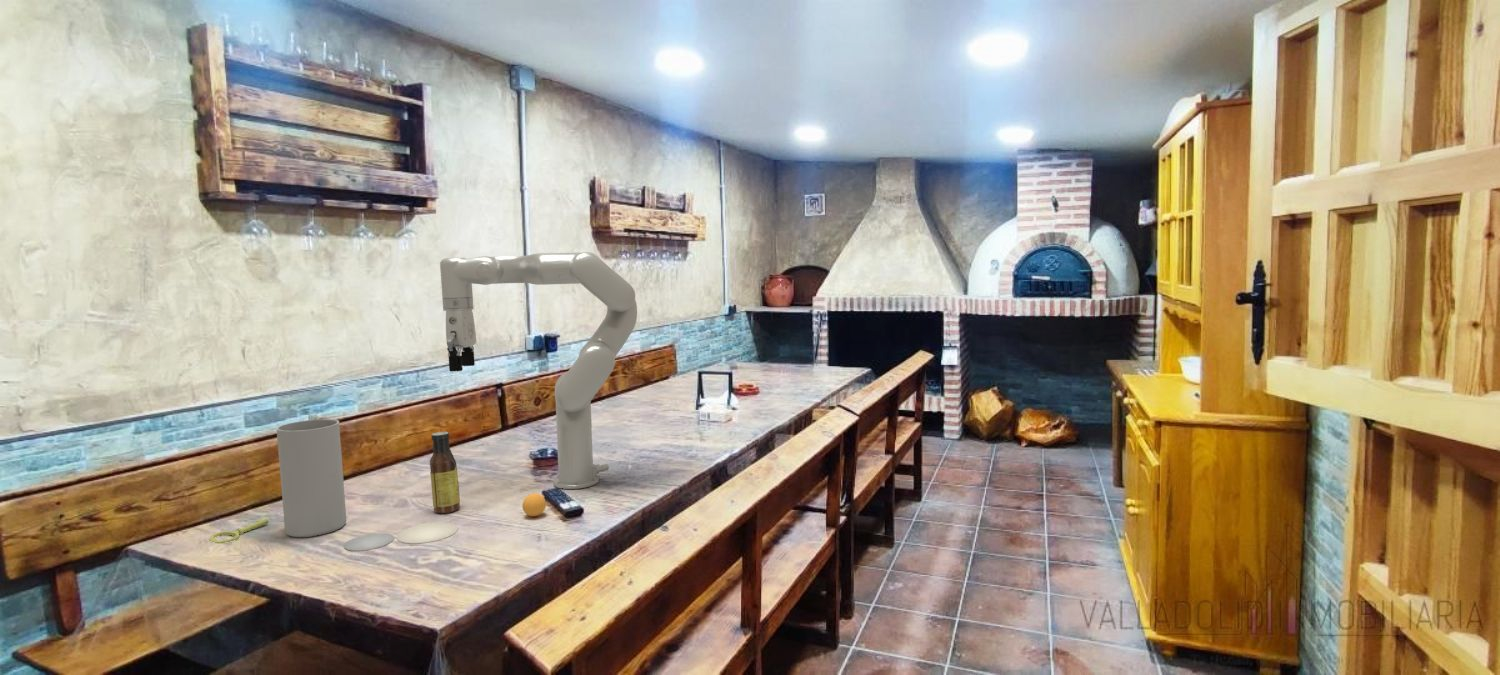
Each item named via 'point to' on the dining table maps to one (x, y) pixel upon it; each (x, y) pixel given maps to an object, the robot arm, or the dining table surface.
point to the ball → (534, 505)
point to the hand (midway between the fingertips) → (462, 368)
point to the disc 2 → (427, 532)
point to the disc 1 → (368, 542)
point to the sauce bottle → (444, 475)
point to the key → (238, 531)
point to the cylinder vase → (311, 477)
